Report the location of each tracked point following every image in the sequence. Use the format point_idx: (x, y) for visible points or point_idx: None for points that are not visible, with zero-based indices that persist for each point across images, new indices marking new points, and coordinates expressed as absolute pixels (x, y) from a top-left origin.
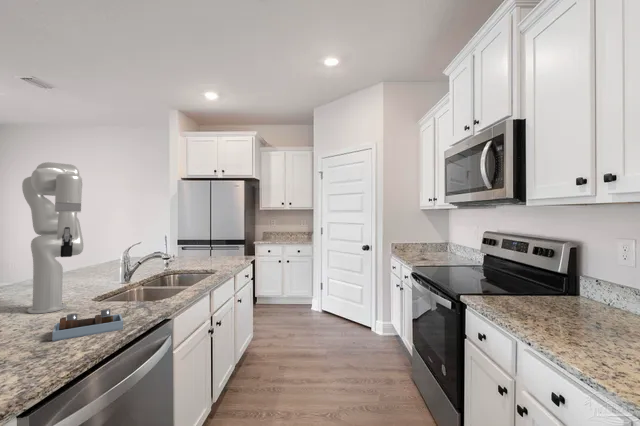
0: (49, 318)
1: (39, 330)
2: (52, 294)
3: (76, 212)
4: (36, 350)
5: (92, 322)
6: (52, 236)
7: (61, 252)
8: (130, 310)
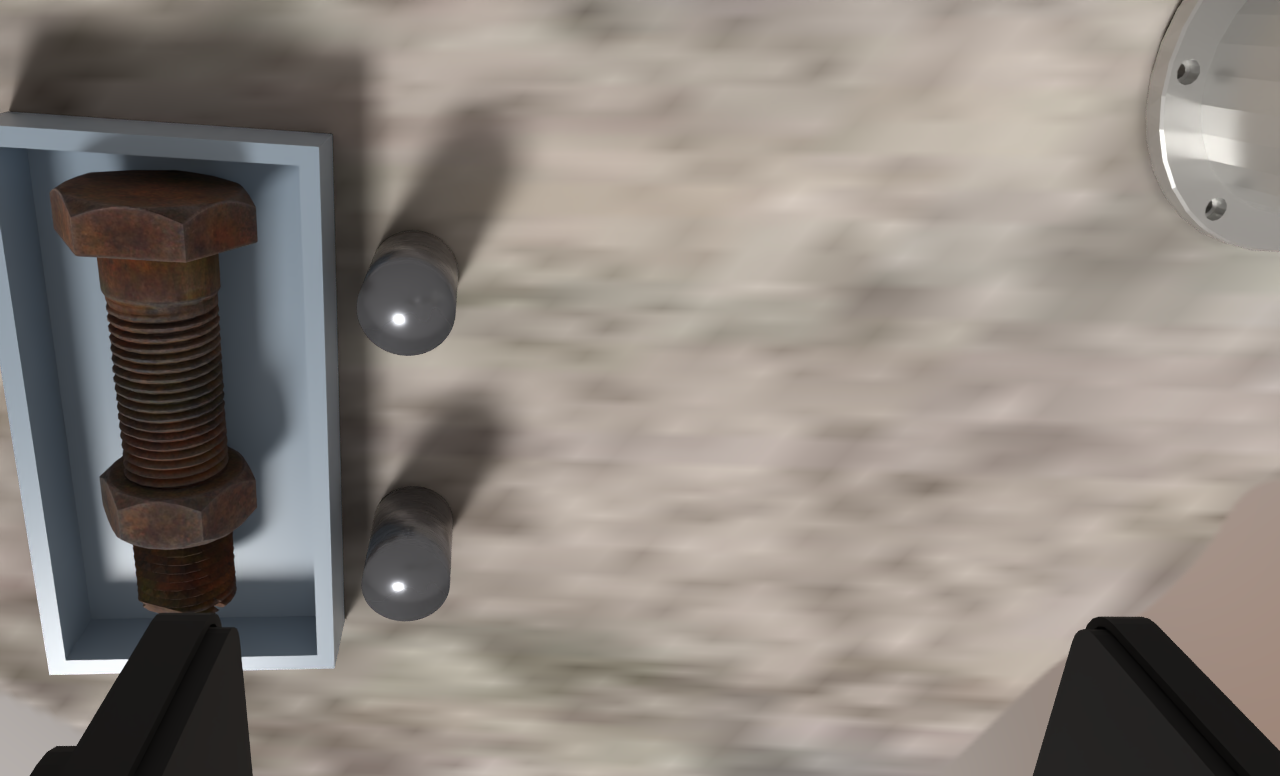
0: (910, 96)
1: (499, 7)
2: None
3: None
4: None
5: (126, 455)
6: None
7: (99, 733)
8: (682, 703)
